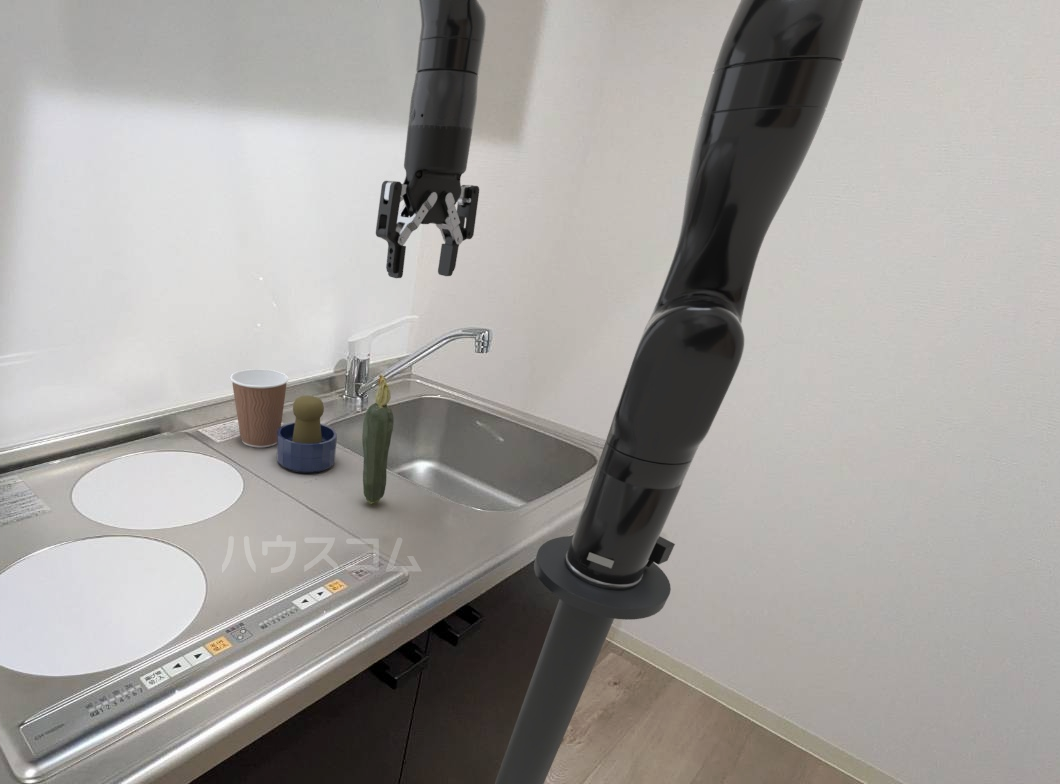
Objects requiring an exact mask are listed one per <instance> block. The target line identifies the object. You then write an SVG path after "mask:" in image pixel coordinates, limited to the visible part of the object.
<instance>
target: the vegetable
mask: <svg viewBox="0 0 1060 784" xmlns="http://www.w3.org/2000/svg"><path fill="white" fill-rule="evenodd" d="M377 377H379V379H378V383H377V385H378V386H377V390H376V392H375V395H374V396H375V397H374V400H375V402H374V403H372V404H371V405H370V406H368V408H367V409H366V411H365V413H364V417H363V423H362V436H361V437H362V439H361V441H362V452H363V471H362V485H363V487H362V489H363V495H364V498H365V500H366V502H368V503H369V504H370V505H372V504H374V503H378V502H379V501H380V500H381V499H382V498H383V497H384V496H385V492H386V486H387V474H388V473H387V467H388V459H389V450H390V446H391V440H392V434H393V431H394V421H395V419H394V414H393V410H392V409H391V407H390V406H389V405H388V404H389V402H390V400H391V389H390V387H389V384H388V383H387V378H386V377H385V376H384V375H382V374H379V375H377Z"/></svg>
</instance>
